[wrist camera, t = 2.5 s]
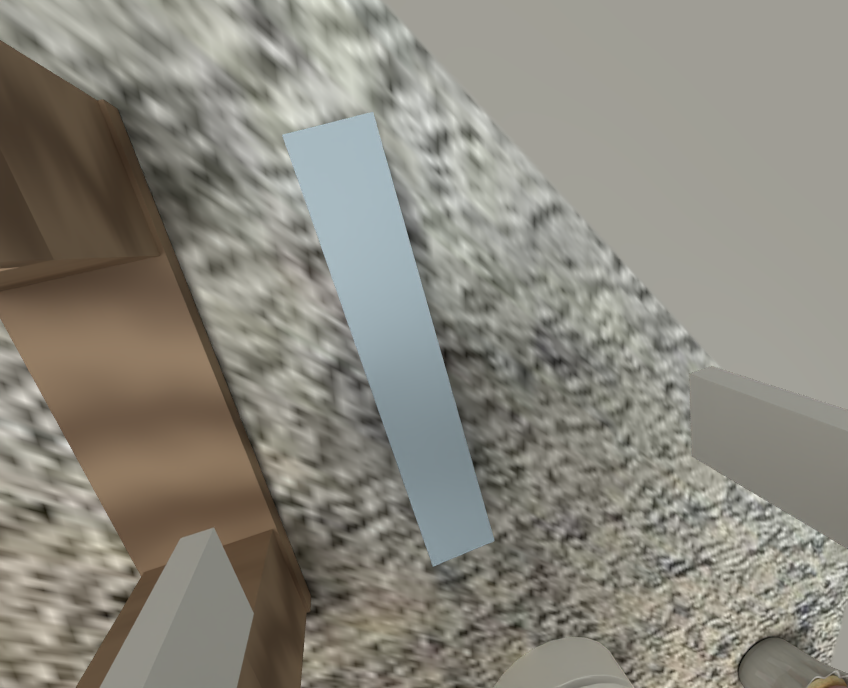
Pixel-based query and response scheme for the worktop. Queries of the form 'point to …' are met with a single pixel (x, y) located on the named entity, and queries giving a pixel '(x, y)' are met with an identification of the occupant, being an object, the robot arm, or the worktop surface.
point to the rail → (391, 326)
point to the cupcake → (786, 668)
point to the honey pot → (566, 667)
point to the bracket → (131, 362)
